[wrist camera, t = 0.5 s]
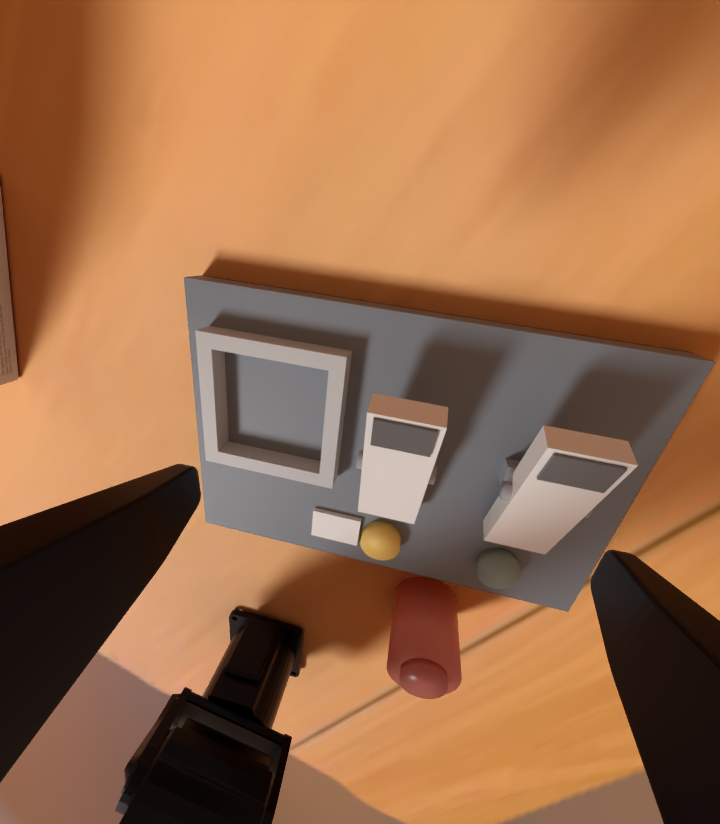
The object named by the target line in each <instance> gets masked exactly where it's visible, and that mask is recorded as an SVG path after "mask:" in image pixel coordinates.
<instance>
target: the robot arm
mask: <svg viewBox="0 0 720 824" xmlns="http://www.w3.org/2000/svg"><path fill="white" fill-rule="evenodd" d="M200 498H201V492H200V484H199V476H198V471H197V469H196V468H195V467H193V466H189V465H184V464H176V465H173V466H170V467H168V468H165V469H162V470H159V471H156V472H153V473H150V474H148V475H145V476H142V477H139V478H136V479H133V480H130V481H128V482H125V483H122V484H119V485H116V486H113V487H110V488H108V489H105V490H102V491H99V492H96V493H93V494H90V495H88V496H85V497H82V498H79V499H76V500H73V501H70V502H68V503H65V504H62V505H59V506H56V507H53V508H50V509H48V510H45V511H42V512H39V513H36V514H33V515H30V516H28V517H25V518H22V519H19V520H16V521H13V522H10V523H8V524H5V525H2V526H0V782H1V781H2V780H3V778H4V777H5V776H6V774H7V773H8V771H9V770H10V769H11V767H12V766H13V765H14V763H15V762H16V760H17V759H18V758H19V757H20V755H21V754H22V752H23V751H24V750H25V749H26V747H27V746H28V744H29V743H30V742H31V740H32V739H33V738H34V736H35V735H36V734H37V732H38V731H39V730H40V728H41V727H42V726H43V724H44V723H45V722H46V720H47V719H48V717H49V716H50V715H51V714H52V712H53V711H54V709H55V708H56V707H57V705H58V704H59V703H60V701H61V700H62V699H63V697H64V696H65V695H66V693H67V692H68V691H69V689H70V688H71V687H72V685H73V684H74V683H75V681H76V680H77V678H78V677H79V676H80V674H81V673H82V672H83V670H84V669H85V667H86V666H87V665H88V664H89V662H90V661H91V660H92V658H93V657H94V655H95V654H96V653H97V652H98V650H99V649H100V647H101V646H102V645H103V643H104V642H105V641H106V639H107V638H108V637H109V635H110V634H111V633H112V631H113V630H114V629H115V627H116V626H117V625H118V623H119V622H120V621H121V619H122V618H123V616H124V615H125V614H126V612H127V611H128V610H129V608H130V607H131V606H132V604H133V603H134V602H135V600H136V599H137V598H138V596H139V595H140V594H141V592H142V591H143V590H144V588H145V587H146V585H147V584H148V583H149V581H150V580H151V579H152V577H153V576H154V575H155V573H156V572H157V571H158V569H159V568H160V566H161V565H162V564H163V562H164V561H165V559H166V557H167V556H168V554H169V553H170V551H171V549H172V548H173V546H174V544H175V543H176V541H177V540H178V538H179V536H180V535H181V533H182V531H183V530H184V528H185V526H186V525H187V523H188V521H189V520H190V518H191V516H192V515H193V513H194V511H195V510H196V508H197V506H198V504H199V502H200ZM591 591H592V595H593V599H594V604H595V608H596V612H597V616H598V620H599V624H600V628H601V633H602V637H603V641H604V645H605V649H606V653H607V657H608V661H609V665H610V668H611V672H612V675H613V678H614V681H615V684H616V687H617V690H618V693H619V696H620V699H621V701H622V704H623V707H624V710H625V713H626V716H627V719H628V722H629V724H630V727H631V730H632V733H633V736H634V739H635V742H636V745H637V748H638V750H639V753H640V756H641V759H642V762H643V765H644V768H645V771H646V774H647V776H648V779H649V782H650V785H651V788H652V791H653V793H654V797H655V799H656V802H657V805H658V808H659V811H660V814H661V817H662V819H663V823H664V824H720V621H719V620H718V619H717V618H715V617H714V616H713V615H711V614H710V613H709V612H707V611H706V610H705V609H704V608H702V607H701V606H700V605H698V604H697V603H696V602H694V601H693V600H692V599H691V598H689V597H688V596H687V595H685V594H684V593H683V592H681V591H680V590H679V589H678V588H676V587H675V586H674V585H672V584H671V583H670V582H668V581H667V580H666V579H665V578H663V577H662V576H661V575H659V574H658V573H657V572H655V571H654V570H653V569H652V568H650V567H649V566H648V565H646V564H645V563H644V562H642V561H641V560H640V559H639V558H637V557H636V556H634V555H633V554H630V553H626V552H621V551H616V550H608V551H607V552H605V554H604V555H603V557H602V559H601V561H600V563H599V565H598V566H597V568H596V570H595V572H594V574H593V576H592V579H591ZM229 623H230V640H231V642H230V644H229V646H228V648H227V650H226V652H225V654H224V656H223V658H222V660H221V662H220V663H219V665H218V667H217V669H216V671H215V673H214V675H213V677H212V679H211V681H210V683H209V685H208V687H207V688H206V690H205V692H204V694H203V696H200V695H198V694H195V693H193V692H191V691H192V690H191V689H189V688H187V687H185V688H184V690H183V691H182V693H181V694H172V696H171V698H170V699H169V701H168V703H167V705H166V707H165V708H164V710H163V711H162V713H161V715H160V716H159V718H158V720H157V721H156V723H155V724H154V726H153V727H152V729H151V730H150V731H149V733H148V734H147V736H146V737H145V739H144V741H143V742H142V743H141V745H140V746H139V748H138V749H137V751H136V752H135V753H134V755H133V756H132V758H131V759H130V761H129V763H128V764H127V766H126V768H125V770H124V771H125V785H124V787H123V790H122V792H121V793H122V796H121V798H120V800H119V803H118V805H117V807H116V810H115V811H116V812H118V813H120V814H122V815H124V816H123V818H122V820H121V822H120V823H119V824H272V820H273V817H274V813H275V809H276V805H277V801H278V797H279V792H280V788H281V783H282V779H283V775H284V770H285V765H286V761H287V757H288V753H289V748H290V744H291V739H292V737H291V736H289V735H287V734H285V735H283V734H281V733H279V732H277V731H274V730H272V726H273V723H274V720H275V717H276V714H277V711H278V708H279V705H280V702H281V699H282V696H283V693H284V690H285V688H286V685H287V682H288V679H289V676H293V677H297V676H299V673H300V669H301V657H302V646H303V634H304V632H303V630H302V629H301V628H299V627H295V626H292V625H288V624H284V623H281V622H277V621H274V620H270V619H266V618H263V617H259V616H255V615H252V614H248V613H245V612H241V611H237V610H233V611H232V612H231V614H230V616H229Z"/></svg>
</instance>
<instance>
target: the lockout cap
mask: <svg viewBox="0 0 720 824" xmlns="http://www.w3.org/2000/svg"><path fill="white" fill-rule="evenodd" d="M387 671H388V673H389V675H390V677H391V678H392V679H393V680H394V681H395V682H396V683H397V684H398V685H400V686H401V687H402V688H403V689H404V690H405V691H407V692H408V693H410V694H412V695H414V696H417V697H420V698H425V699H434V698H439V697H441V696H443V695H444V694H448V693H450V692H452V691H454V690H455V689H457V688H458V686H459V685H460V683H461V663H460V648H459V634H458V619H457V604H456V597H455V595H454V593H453V592H452V590H451V589H450V588H449V587H448V586H446V585H445V584H443V583H442V582H440V581H437V580H435V579H431V578H425V577H416V578H411V579H408V580H405V581H403V582H402V583H401V584H399V586H398V587H397V589H396V591H395V597H394V606H393V615H392V624H391V633H390V642H389V651H388V660H387Z"/></svg>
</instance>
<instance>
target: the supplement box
mask: <svg viewBox="0 0 720 824" xmlns="http://www.w3.org/2000/svg"><path fill="white" fill-rule="evenodd" d="M17 379H18V366H17V355H16V345H15V334H14V324H13V313H12V302H11V292H10V281H9V270H8V259H7V248H6V238H5V228H4V218H3V208H2V197H1V187H0V385H2V384H5V383H9V382H12V381H15V380H17Z"/></svg>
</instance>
